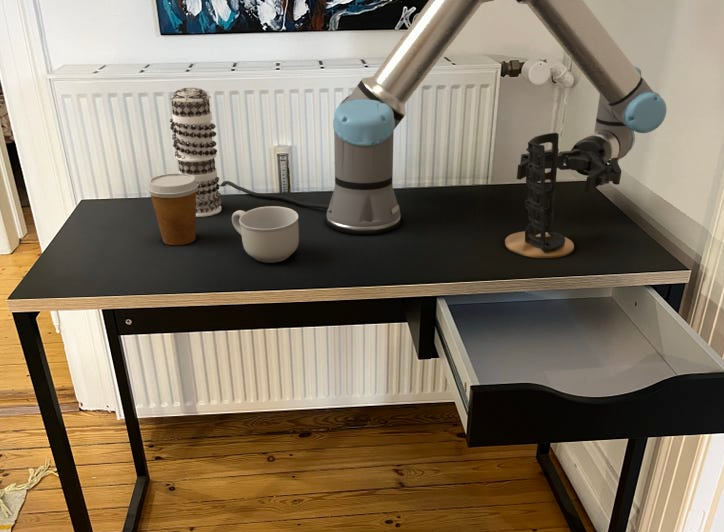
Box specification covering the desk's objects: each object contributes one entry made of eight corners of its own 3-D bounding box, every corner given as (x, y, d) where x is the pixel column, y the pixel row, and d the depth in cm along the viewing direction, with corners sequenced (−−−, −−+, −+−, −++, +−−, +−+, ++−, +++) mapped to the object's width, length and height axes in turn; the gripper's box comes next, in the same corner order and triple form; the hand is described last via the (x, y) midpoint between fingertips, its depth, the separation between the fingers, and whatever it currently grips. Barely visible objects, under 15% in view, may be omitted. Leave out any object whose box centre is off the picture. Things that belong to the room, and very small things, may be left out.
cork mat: (493, 248, 146) (493, 245, 146) (522, 228, 155) (522, 226, 155) (557, 263, 139) (558, 261, 139) (584, 242, 148) (584, 239, 148)
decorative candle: (171, 213, 164) (155, 91, 151) (198, 201, 171) (186, 84, 158) (204, 220, 160) (192, 96, 147) (231, 207, 167) (221, 88, 154)
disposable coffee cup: (213, 235, 152) (207, 175, 146) (184, 251, 145) (177, 189, 139) (174, 228, 156) (166, 170, 150) (144, 244, 148) (135, 183, 142)
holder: (566, 254, 141) (569, 144, 132) (524, 254, 143) (525, 147, 133) (564, 233, 150) (567, 130, 141) (525, 234, 152) (525, 133, 143)
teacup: (312, 256, 143) (310, 215, 139) (268, 273, 136) (265, 230, 132) (263, 237, 151) (260, 198, 147) (219, 253, 144) (215, 212, 140)
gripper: (651, 181, 153) (614, 210, 138) (535, 162, 166) (490, 186, 151) (658, 144, 149) (622, 169, 135) (539, 126, 162) (494, 148, 147)
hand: (552, 178), depth 143 cm, fingers open, 13 cm apart
